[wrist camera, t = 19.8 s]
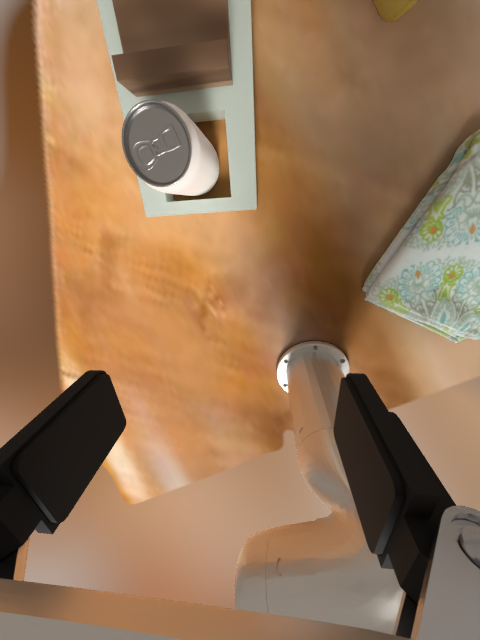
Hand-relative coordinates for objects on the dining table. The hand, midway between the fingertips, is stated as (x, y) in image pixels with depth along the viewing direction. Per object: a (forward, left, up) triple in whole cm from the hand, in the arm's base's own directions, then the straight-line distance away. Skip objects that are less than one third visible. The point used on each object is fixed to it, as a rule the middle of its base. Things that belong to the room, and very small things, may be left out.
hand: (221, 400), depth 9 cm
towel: (-1, -28, -28) cm, 40 cm away
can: (+11, +6, -27) cm, 30 cm away
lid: (+22, +6, -24) cm, 33 cm away
